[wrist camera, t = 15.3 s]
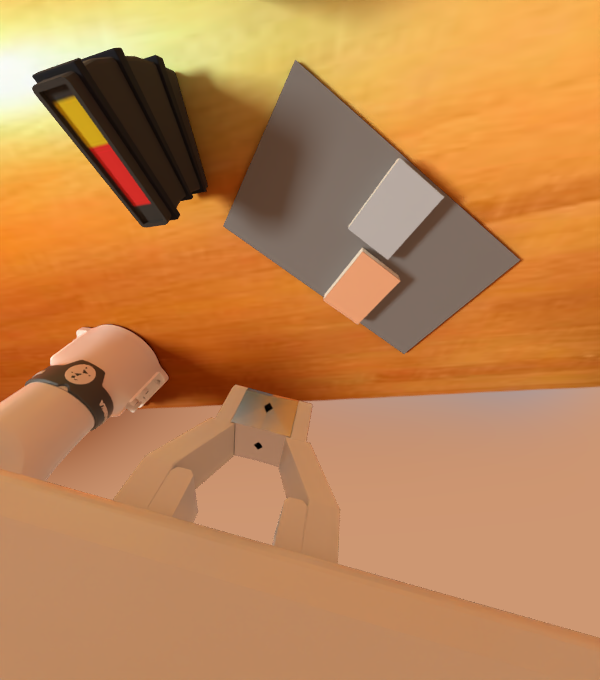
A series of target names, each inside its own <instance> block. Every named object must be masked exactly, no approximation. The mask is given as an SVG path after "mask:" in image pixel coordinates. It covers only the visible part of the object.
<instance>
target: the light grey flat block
mask: <svg viewBox="0 0 600 680" xmlns="http://www.w3.org/2000/svg"><path fill="white" fill-rule="evenodd" d="M443 198H444V196H442V195H441V194H440V193H439V192H438V191H437V190H436V189H435V188H433V187H432V186H431V185H430V184H429V183H428V182H427V181H426V180H424V179H423V178H422V177H421V176H420V175H419V174H418V173H417V172H415V171H414V170H413V169H412V168H411V167H410V166H409V165H407V164H406V163H405V162H404V161H403V160H402V159H401V158H399V159H397V160H396V161H395V163H394V164H393V165H392V167H391V168H390V170H389V171H388V172H387V174H386V175H385V176H384V178H383V179H382V181H381V182H380V183H379V185H378V186H377V187H376V189H375V190H374V192H373V193H372V194H371V196H370V197H369V198H368V200H367V201H366V202H365V204H364V205H363V207H362V208H361V209H360V211H359V212H358V213H357V215H356V216H355V218H354V219H353V220H352V222H351V223H350V224H349V227H348V229H349V230H350V231H351V232H353V233H354V234H355V235H356V236H358V237H359V238H360V239H362V240H363V241H364V242H365V243H367V244H368V245H369V246H370V247H372V248H373V249H374V250H376V251H377V252H378V253H379V254H381V255H382V256H383V257H385V258H386V259H387V260H388V259H389V258H390V257H391V256H392V255H393V254H394V253H395V251H396V250H397V249H398V248H399V247H400V246H401V245H402V244H403V243H404V241H405V240H406V239H407V238H408V237H409V236H410V235H411V234H412V233H413V231H414V230H415V229H416V228H417V227H418V226H419V225H420V224H421V222H422V221H423V220H424V219H425V218H426V217H427V216H428V215H429V214H430V212H431V211H432V210H433V209H434V208H435V207H436V206H437V205H438V204H439V202H440V201H441V200H442V199H443Z"/></svg>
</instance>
